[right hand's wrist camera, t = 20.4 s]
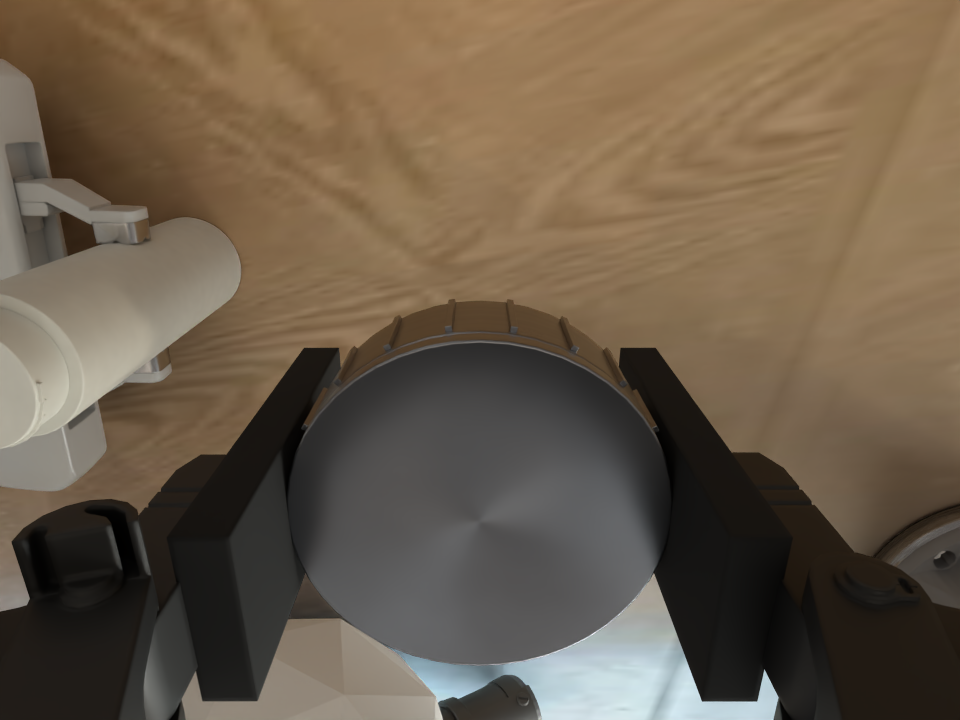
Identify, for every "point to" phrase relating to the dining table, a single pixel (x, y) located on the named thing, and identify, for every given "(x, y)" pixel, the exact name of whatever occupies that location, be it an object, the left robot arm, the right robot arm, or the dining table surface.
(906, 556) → the right robot arm
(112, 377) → the jar
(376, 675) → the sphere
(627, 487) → the lid
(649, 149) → the dining table surface
